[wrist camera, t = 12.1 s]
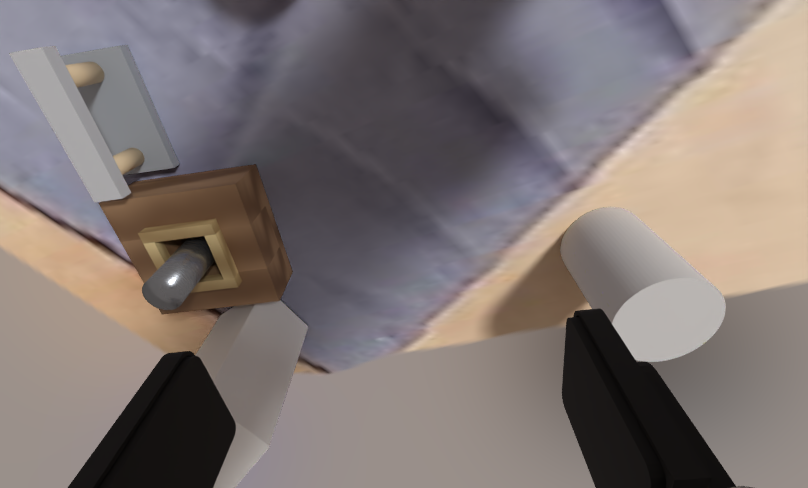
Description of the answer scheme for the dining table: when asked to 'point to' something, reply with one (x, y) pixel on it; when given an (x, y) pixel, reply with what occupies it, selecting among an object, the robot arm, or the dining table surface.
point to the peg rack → (98, 115)
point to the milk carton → (252, 376)
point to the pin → (179, 274)
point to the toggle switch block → (206, 234)
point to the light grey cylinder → (641, 284)
